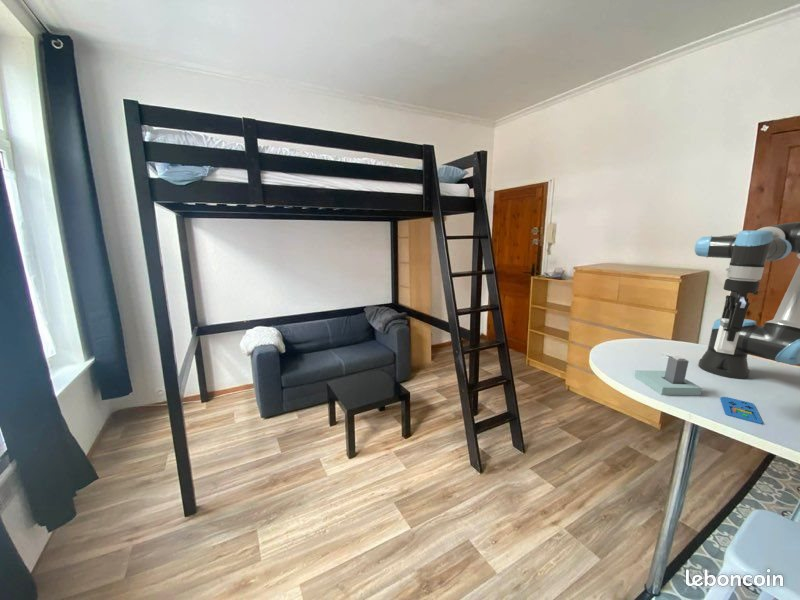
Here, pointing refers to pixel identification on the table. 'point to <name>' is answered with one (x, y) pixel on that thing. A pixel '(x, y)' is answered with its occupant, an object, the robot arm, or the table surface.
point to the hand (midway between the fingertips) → (724, 347)
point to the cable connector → (720, 337)
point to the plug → (676, 370)
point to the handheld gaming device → (740, 409)
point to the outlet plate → (666, 384)
